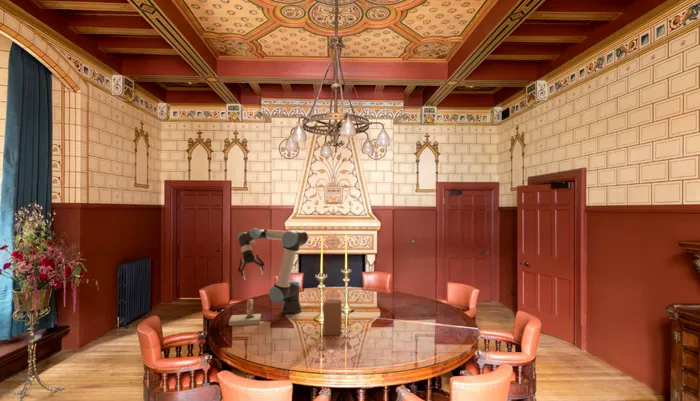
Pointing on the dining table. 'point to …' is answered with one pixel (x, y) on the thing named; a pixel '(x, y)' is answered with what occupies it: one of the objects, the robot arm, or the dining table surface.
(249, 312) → the peg
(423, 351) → the dining table surface
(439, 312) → the dining table surface
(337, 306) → the block
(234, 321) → the board
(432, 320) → the dining table surface
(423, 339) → the dining table surface
